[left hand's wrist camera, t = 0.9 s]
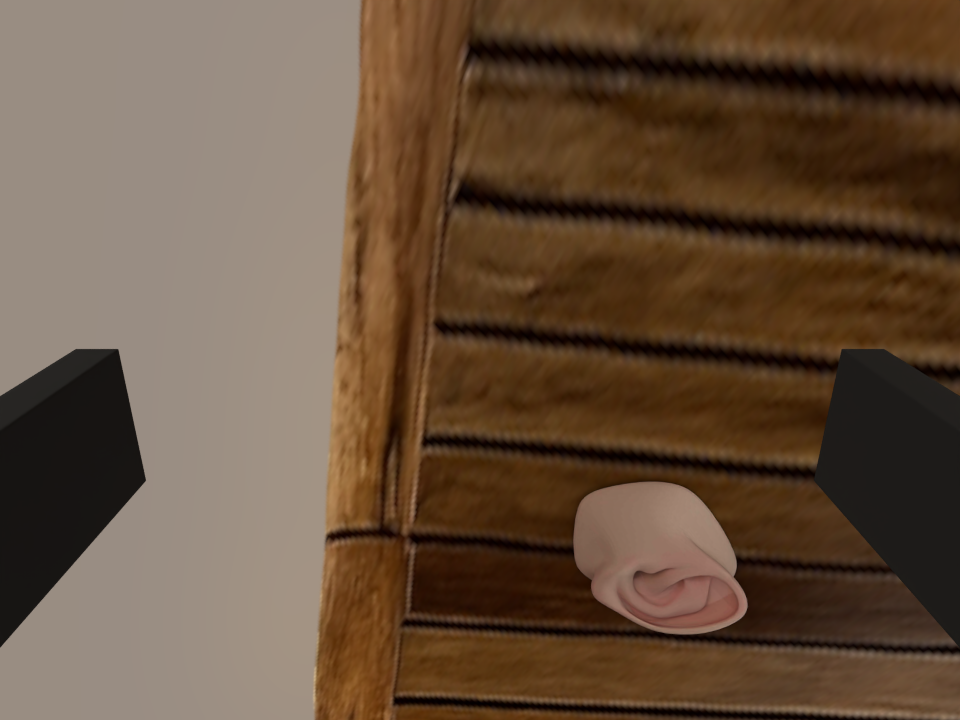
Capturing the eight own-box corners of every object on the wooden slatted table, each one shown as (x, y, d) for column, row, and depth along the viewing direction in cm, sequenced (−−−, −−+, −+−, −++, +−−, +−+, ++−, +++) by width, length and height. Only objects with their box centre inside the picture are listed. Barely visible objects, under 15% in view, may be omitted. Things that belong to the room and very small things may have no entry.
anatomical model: (554, 540, 46) (713, 480, 45) (549, 507, 50) (695, 451, 48) (620, 671, 51) (766, 621, 49) (610, 632, 55) (746, 585, 53)
